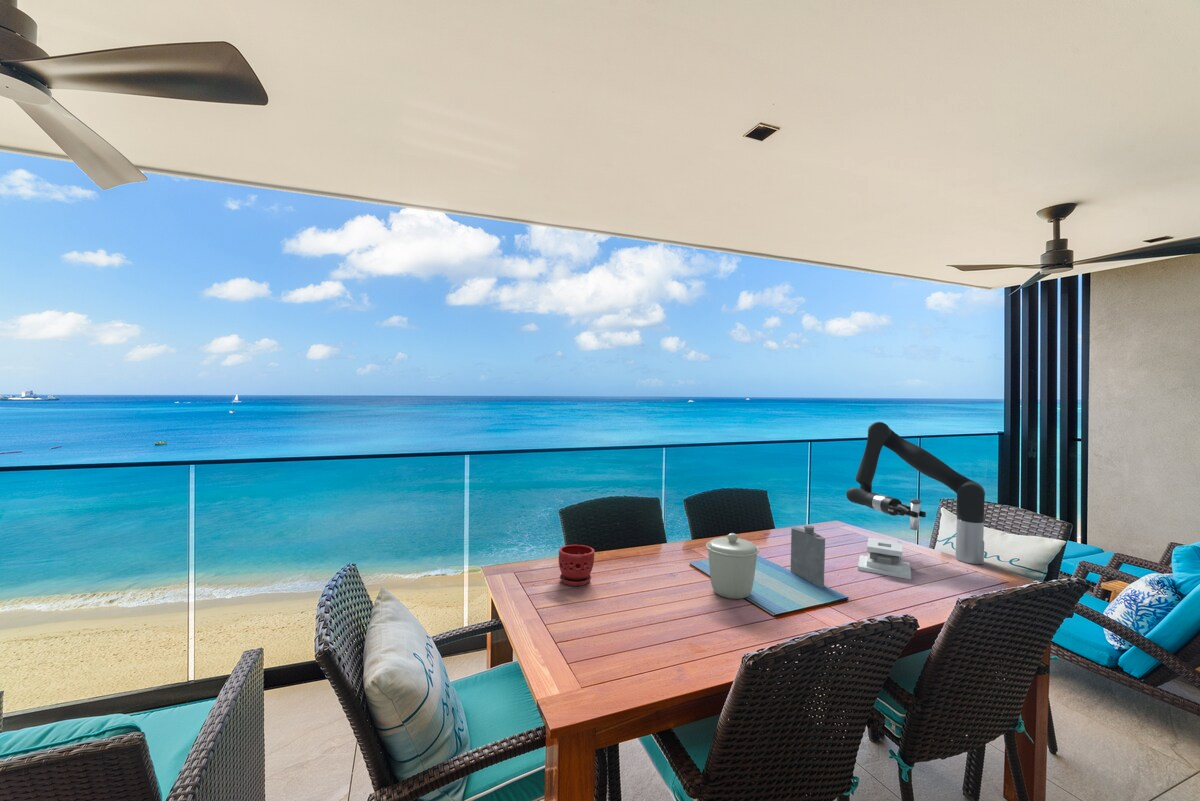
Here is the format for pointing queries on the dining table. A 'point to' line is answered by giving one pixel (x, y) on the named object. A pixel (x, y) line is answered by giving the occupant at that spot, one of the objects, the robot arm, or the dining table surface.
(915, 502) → the clevis pin
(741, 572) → the canister
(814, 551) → the hip flask
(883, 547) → the clevis bracket
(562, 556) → the plant pot
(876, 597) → the dining table surface
